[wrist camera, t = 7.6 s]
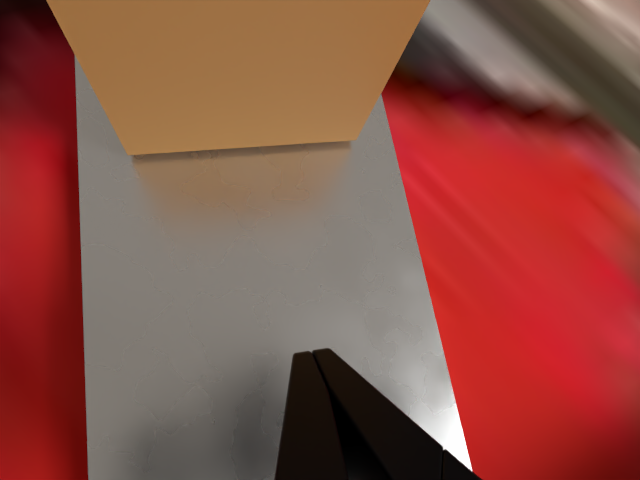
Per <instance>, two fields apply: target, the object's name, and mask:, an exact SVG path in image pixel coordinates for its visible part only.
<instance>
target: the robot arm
mask: <svg viewBox="0 0 640 480" xmlns="http://www.w3.org/2000/svg"><path fill="white" fill-rule="evenodd" d="M274 480H482V479H481V478H480V477H478V476H477V475H476V474H475V473H474V472H472V471H471V470H470V469H469V468H468V467H466V466H465V465H464V464H463V463H461V462H460V461H459V460H458V459H457V458H456V457H455V456H453V455H452V454H451V453H450V452H449V451H448V450H446V449H444V450H443V446H442V445H441V444H439V443H438V442H437V441H436V440H435V439H434V438H433V437H431V436H430V435H429V434H428V433H427V432H426V431H424V430H423V429H422V428H421V427H420V426H419V425H418V424H416V423H415V422H414V421H413V420H412V419H411V418H410V417H408V416H407V415H406V414H405V413H404V412H403V411H401V410H400V409H399V408H398V407H397V406H396V405H395V404H393V403H392V402H391V401H390V400H389V399H388V398H387V397H385V396H384V395H383V394H382V393H381V392H380V391H379V390H377V389H376V388H375V387H374V386H373V385H372V384H370V383H369V382H368V381H367V380H366V379H365V378H364V377H362V376H361V375H360V374H359V373H358V372H357V371H356V370H354V369H353V368H352V367H351V366H350V365H349V364H348V363H346V362H345V361H344V360H343V359H342V358H341V357H339V356H338V355H337V354H336V353H335V352H334V351H333V350H331V349H330V348H322V349H316V350H313V351H312V352H310V351H303V352H297V353H294V354H293V357H292V363H291V370H290V377H289V383H288V390H287V397H286V403H285V410H284V417H283V423H282V430H281V437H280V443H279V450H278V457H277V463H276V470H275V477H274Z"/></svg>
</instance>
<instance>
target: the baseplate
mask: <svg viewBox="0 0 640 480" xmlns="http://www.w3.org/2000/svg"><path fill="white" fill-rule="evenodd" d="M75 79H76V110H77V141H78V172H79V203H80V234H81V265H82V296H83V327H84V359H85V390H86V421H87V452H88V480H274V477H275V470H276V463H277V457H278V450H279V443H280V437H281V430H282V423H283V417H284V410H285V403H286V397H287V390H288V383H289V377H290V370H291V363H292V357H293V354H294V353H297V352H303V351H310V352H312V351H313V350H316V349H322V348H330V349H331V350H333V351H334V352H335V353H336V354H337V355H338V356H339V357H341V358H342V359H343V360H344V361H345V362H346V363H348V364H349V365H350V366H351V367H352V368H353V369H354V370H356V371H357V372H358V373H359V374H360V375H361V376H362V377H364V378H365V379H366V380H367V381H368V382H369V383H370V384H372V385H373V386H374V387H375V388H376V389H377V390H379V391H380V392H381V393H382V394H383V395H384V396H385V397H387V398H388V399H389V400H390V401H391V402H392V403H393V404H395V405H396V406H397V407H398V408H399V409H400V410H401V411H403V412H404V413H405V414H406V415H407V416H408V417H410V418H411V419H412V420H413V421H414V422H415V423H416V424H418V425H419V426H420V427H421V428H422V429H423V430H424V431H426V432H427V433H428V434H429V435H430V436H431V437H433V438H434V439H435V440H436V441H437V442H438V443H439V444H441V445H442V446H443V450H444V449H446V450H448V451H449V452H450V453H451V454H452V455H453V456H455V457H456V458H457V459H458V460H459V461H460V462H461V463H463V464H464V465H465V466H466V467H468V468H469V469H470V470H471V471H472V468H471V464H470V459H469V455H468V451H467V447H466V443H465V439H464V435H463V430H462V426H461V422H460V418H459V414H458V410H457V406H456V401H455V397H454V393H453V389H452V385H451V381H450V377H449V373H448V368H447V364H446V360H445V356H444V352H443V348H442V344H441V339H440V335H439V331H438V327H437V323H436V319H435V315H434V311H433V306H432V302H431V298H430V294H429V290H428V286H427V282H426V277H425V273H424V269H423V265H422V261H421V257H420V253H419V248H418V244H417V240H416V236H415V232H414V228H413V224H412V220H411V215H410V211H409V207H408V203H407V199H406V195H405V191H404V186H403V182H402V178H401V174H400V170H399V166H398V162H397V157H396V153H395V149H394V145H393V141H392V137H391V133H390V129H389V124H388V120H387V116H386V112H385V108H384V104H383V100H382V95H381V94H380V96H379V98H378V100H377V102H376V104H375V106H374V107H373V109H372V111H371V113H370V115H369V117H368V119H367V121H366V123H365V124H364V126H363V128H362V130H361V132H360V134H359V136H358V138H357V139H356V140H352V141H337V142H322V143H307V144H291V145H276V146H261V147H246V148H231V149H216V150H201V151H186V152H171V153H156V154H140V155H127V153H126V151H125V149H124V147H123V145H122V144H121V142H120V140H119V138H118V136H117V134H116V132H115V130H114V128H113V126H112V124H111V123H110V121H109V119H108V117H107V115H106V113H105V111H104V109H103V107H102V105H101V104H100V102H99V100H98V98H97V96H96V94H95V92H94V90H93V88H92V86H91V84H90V83H89V81H88V79H87V77H86V75H85V73H84V71H83V69H82V67H81V65H80V64H79V62H78V60H77V58H76V56H75Z"/></svg>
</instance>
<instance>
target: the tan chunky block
mask: <svg viewBox="0 0 640 480" xmlns="http://www.w3.org/2000/svg"><path fill="white" fill-rule="evenodd" d="M46 1H47V3H48V4H49V6H50V8H51V10H52V12H53V14H54V16H55V18H56V20H57V22H58V24H59V25H60V27H61V29H62V31H63V33H64V35H65V37H66V39H67V41H68V43H69V44H70V46H71V48H72V50H73V52H74V54H75V56H76V58H77V60H78V62H79V64H80V65H81V67H82V69H83V71H84V73H85V75H86V77H87V79H88V81H89V83H90V84H91V86H92V88H93V90H94V92H95V94H96V96H97V98H98V100H99V102H100V104H101V105H102V107H103V109H104V111H105V113H106V115H107V117H108V119H109V121H110V123H111V124H112V126H113V128H114V130H115V132H116V134H117V136H118V138H119V140H120V142H121V144H122V145H123V147H124V149H125V151H126V153H127V155H140V154H156V153H171V152H186V151H201V150H216V149H231V148H246V147H261V146H276V145H291V144H307V143H322V142H337V141H352V140H356V139H357V138H358V136H359V134H360V132H361V130H362V128H363V126H364V124H365V123H366V121H367V119H368V117H369V115H370V113H371V111H372V109H373V107H374V106H375V104H376V102H377V100H378V98H379V96H380V94H381V92H382V90H383V89H384V87H385V85H386V83H387V81H388V79H389V77H390V75H391V74H392V72H393V70H394V68H395V66H396V64H397V62H398V60H399V58H400V57H401V55H402V53H403V51H404V49H405V47H406V45H407V43H408V41H409V40H410V38H411V36H412V34H413V32H414V30H415V28H416V26H417V25H418V23H419V21H420V19H421V17H422V15H423V13H424V11H425V9H426V8H427V6H428V4H429V2H430V0H46Z"/></svg>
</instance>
